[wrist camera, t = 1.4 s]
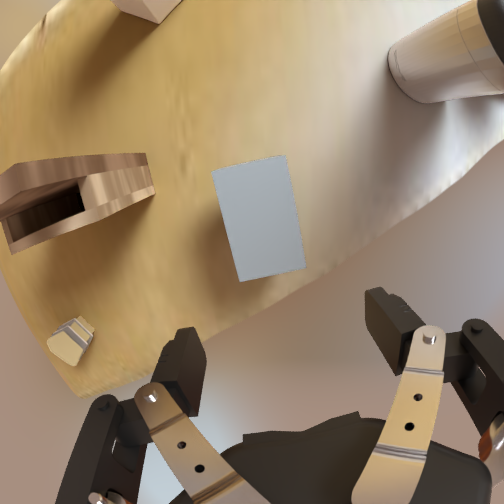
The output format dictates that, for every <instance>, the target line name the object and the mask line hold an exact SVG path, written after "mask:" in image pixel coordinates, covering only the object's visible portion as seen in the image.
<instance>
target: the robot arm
mask: <svg viewBox="0 0 504 504" xmlns="http://www.w3.org/2000/svg"><path fill="white" fill-rule="evenodd" d="M388 63H389V68H390V71H391V73H392V76H393V78H394V79H395V81H396V83H397V84H398V86H399V87H400V88H401V89H402V90H403V91H404V92H405V93H406V94H407V95H408V96H409V97H411V98H412V99H414V100H416V101H418V102H421V103H435V102H440V101H447V100H453V99H460V98H467V97H475V96H483V95H493V94H504V0H471V1H469V2H467V3H465V4H463V5H461V6H459V7H457V8H455V9H453V10H451V11H449V12H447V13H446V14H444V15H442V16H440V17H438V18H436V19H435V20H433V21H431V22H429V23H427V24H426V25H424V26H422V27H421V28H419V29H417V30H415V31H414V32H412V33H410V34H409V35H407V36H405V37H404V38H402V39H401V40H399V41H398V42H396V43H395V44H394V45H393V46H392V47H391V49H390V51H389V55H388ZM365 321H366V326H367V329H368V331H369V332H370V334H371V336H372V337H373V339H374V341H375V342H376V344H377V346H378V347H379V349H380V351H381V352H382V354H383V356H384V357H385V359H386V361H387V362H388V364H389V366H390V367H391V369H392V371H393V373H394V374H395V376H397V375H400V374H402V377H401V380H400V383H399V387H398V390H397V393H396V396H395V399H394V402H393V405H392V407H391V410H390V413H389V416H388V418H387V421H386V420H382V419H376V418H361V417H360V415H359V412H358V411H357V412H353V413H350V414H346V415H343V416H339V417H336V418H332V419H329V420H327V421H325V422H323V423H321V424H318V425H316V426H314V427H312V428H310V429H307V430H305V431H301V432H291V431H290V432H289V431H267V432H260V433H251V434H243V442H242V443H239V444H236V445H234V446H232V447H230V448H229V449H227V450H225V451H224V452H222V453H221V454H220V455H219V453H218V452H217V451H216V450H215V449H214V448H213V447H212V446H211V445H210V443H209V442H208V441H207V440H206V439H205V438H204V437H203V435H202V434H201V433H200V432H199V430H198V429H197V428H196V427H195V425H194V424H193V423H192V422H191V421H190V419H189V417H196V416H198V412H199V406H200V400H201V394H202V388H203V381H204V376H205V370H206V362H207V361H206V355H205V351H204V349H203V347H202V344H201V342H200V339H199V337H198V334H197V332H196V330H195V328H194V327H189V328H182V329H178V330H177V332H176V335H175V338H174V340H170V341H169V342H168V343H167V344H166V345H165V346H164V347H163V349H162V352H161V355H160V357H159V360H158V363H157V365H156V368H155V371H154V373H153V376H152V379H151V382H150V383H148V384H146V385H144V386H142V387H141V388H139V389H138V390H137V392H136V394H135V396H134V398H132V399H128V400H124V401H121V402H119V401H118V400H117V399H116V397H115V396H113V395H110V394H107V395H102V396H100V397H98V398H97V399H96V400H95V401H94V402H93V403H92V405H91V407H90V409H89V412H88V414H87V416H86V418H85V421H84V423H83V426H82V428H81V431H80V433H79V436H78V438H77V441H76V443H75V446H74V449H73V451H72V454H71V457H70V459H69V462H68V465H67V468H66V471H65V474H64V477H63V480H62V483H61V486H60V489H59V492H58V496H57V499H56V503H55V504H137V498H138V493H139V487H140V481H141V475H142V470H143V464H144V459H145V453H146V448H147V444H148V443H151V442H154V443H155V445H156V446H157V448H158V450H159V451H160V453H161V454H162V456H163V458H164V459H165V461H166V462H167V464H168V466H169V467H170V469H171V470H172V472H173V473H174V475H175V476H176V478H177V479H178V481H179V482H180V483H181V485H182V486H183V488H184V490H183V491H182V492H181V493H180V494H179V495H178V496H177V497H176V498H175V499H173V500H172V501H171V502H170V503H169V504H490V498H491V492H492V488H494V487H495V486H497V485H498V484H500V483H501V482H502V481H504V340H503V339H502V338H501V337H500V336H499V335H498V334H497V333H496V332H495V331H494V329H493V328H492V327H491V326H490V325H489V324H488V323H486V322H485V321H483V320H480V319H470V320H467V321H466V322H465V323H464V324H463V326H462V330H461V331H459V332H453V333H445V332H444V331H443V330H442V329H441V328H439V327H436V326H433V325H426V324H425V323H424V322H423V321H422V320H421V318H420V317H419V316H418V315H417V314H416V313H415V312H414V311H413V310H412V309H411V308H410V307H409V306H408V305H407V303H406V302H405V301H404V300H403V299H402V298H401V297H398V296H396V295H394V294H390V295H388V294H387V293H386V292H385V290H384V289H383V288H382V287H377V288H373V289H370V290H366V291H365ZM478 367H480V369H481V370H482V371H483V373H484V374H485V376H486V377H485V376H484V374H483V373H482V372H481V370H480V369H479V368H478ZM447 382H451V384H452V386H453V387H454V389H455V391H456V392H457V394H458V396H459V397H460V399H461V401H462V402H463V404H464V406H465V408H466V409H467V411H468V413H469V414H470V416H471V418H472V420H473V422H474V424H475V426H476V428H477V429H478V431H479V433H480V435H481V439H480V440H479V444H478V451H479V458H480V459H478V458H476V457H473V456H471V455H468V454H465V453H462V452H460V451H457V450H454V449H451V448H449V447H446V446H444V445H441V444H439V443H437V442H434V441H431V436H432V432H433V428H434V424H435V420H436V416H437V411H438V406H439V401H440V396H441V390H442V384H443V383H447ZM115 440H116V443H115V446H114V450H113V453H112V448H113V444H114V441H115Z"/></svg>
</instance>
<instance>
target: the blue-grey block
mask: <svg viewBox="0 0 504 504" xmlns="http://www.w3.org/2000/svg"><path fill="white" fill-rule="evenodd" d="M211 173H212V177H213V181H214V185H215V189H216V193H217V197H218V201H219V205H220V209H221V212H222V216H223V220H224V224H225V228H226V232H227V236H228V240H229V243H230V247H231V251H232V255H233V259H234V262H235V266H236V270H237V274H238V277H239V281H240V282H243V281H248V280H253V279H258V278H262V277H267V276H272V275H277V274H281V273H286V272H290V271H295V270H300V269H304V268H306V262H305V256H304V250H303V244H302V238H301V232H300V226H299V221H298V215H297V210H296V205H295V199H294V194H293V189H292V184H291V179H290V174H289V169H288V165H287V160H286V155H279V156H274V157H269V158H264V159H259V160H254V161H250V162H245V163H241V164H236V165H232V166H228V167H224V168H220V169H217V170H214V171H212V172H211Z"/></svg>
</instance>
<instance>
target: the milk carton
mask: <svg viewBox="0 0 504 504" xmlns="http://www.w3.org/2000/svg"><path fill="white" fill-rule="evenodd" d="M111 1H112V2H113V3H114V4H115V5H116V6H117V7H118V8H119V9H120V10H121V11H123V12H126V13H129V14H132V15H135V16H138V17H141V18H144V19H147V20H149V21H152V22H155V23H157V24H160V23H161V22H162V21H163V19H164V18H165V17H166V16H167V15H168V14H169V13H170V12H171V11H172V10H173V9H174V8H175V7H176V6H177V5H178V4H179V3H180V2H181V1H182V0H111Z"/></svg>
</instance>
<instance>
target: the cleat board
mask: <svg viewBox="0 0 504 504" xmlns="http://www.w3.org/2000/svg"><path fill="white" fill-rule="evenodd" d="M78 192H80V193H81V197H82V200H83V204H84V207H85V209H84V210H82V211H81V210H80V207H79V204H78V200H77V196H76V193H78ZM153 194H156V193H155V190H154V186H153V182H152V178H151V174H150V171H149V167H148V163H147V158H146V154H145V153H123V154H101V155H86V156H74V157H63V158H54V159H45V160H38V161H30V162H24V163H17V164H14V165H13V166H11V167H10V168H9V169H8V170H6V171H5V172H4V173H2V174H1V175H0V222H1V223H2V226H3V230H4V233H5V236H6V239H7V243H8V246H9V249H10V251H11V254H12V255H13V254H15V253H17V252H20V251H22V250H24V249H27V248H29V247H31V246H34V245H36V244H39V243H41V242H43V241H46V240H48V239H51V238H53V237H56V236H59V235H61V234H64V233H66V232H69V231H72V230H74V229H77V228H80V227H83V226H85V225H88V224H91V223H94V222H97V221H100V220H102V219H104V218H106V217H107V216H109V215H111V214H113V213H115V212H117V211H119V210H122V209H124V208H126V207H128V206H130V205H132V204H134V203H136V202H138V201H140V200H143V199H145V198H147V197H149V196H151V195H153Z"/></svg>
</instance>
